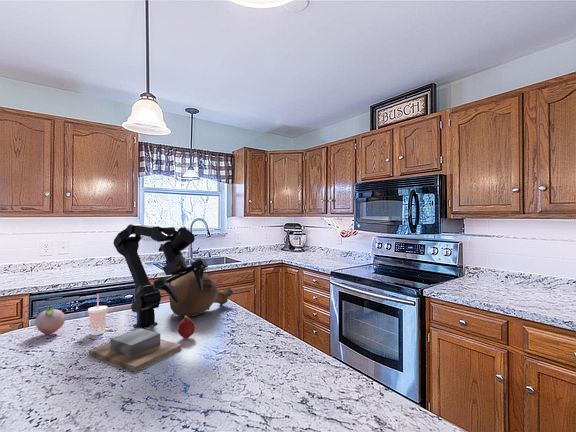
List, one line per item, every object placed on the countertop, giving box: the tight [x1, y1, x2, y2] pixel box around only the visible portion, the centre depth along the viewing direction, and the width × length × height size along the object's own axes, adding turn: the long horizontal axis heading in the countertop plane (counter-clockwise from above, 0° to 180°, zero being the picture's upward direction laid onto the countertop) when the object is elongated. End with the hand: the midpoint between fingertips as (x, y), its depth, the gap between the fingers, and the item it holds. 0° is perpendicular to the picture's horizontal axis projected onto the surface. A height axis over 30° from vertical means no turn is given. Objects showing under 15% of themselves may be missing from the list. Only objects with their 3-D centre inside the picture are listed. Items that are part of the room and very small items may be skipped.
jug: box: [169, 271, 234, 317], centre depth 134 cm, size 20×20×30 cm
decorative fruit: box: [34, 306, 66, 336], centre depth 108 cm, size 9×8×10 cm
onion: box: [177, 316, 196, 340], centre depth 105 cm, size 6×6×8 cm
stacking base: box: [88, 328, 182, 373], centre depth 94 cm, size 22×16×5 cm
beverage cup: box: [87, 293, 108, 336], centre depth 110 cm, size 6×6×14 cm
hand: (189, 296), depth 105 cm, fingers open, 9 cm apart
